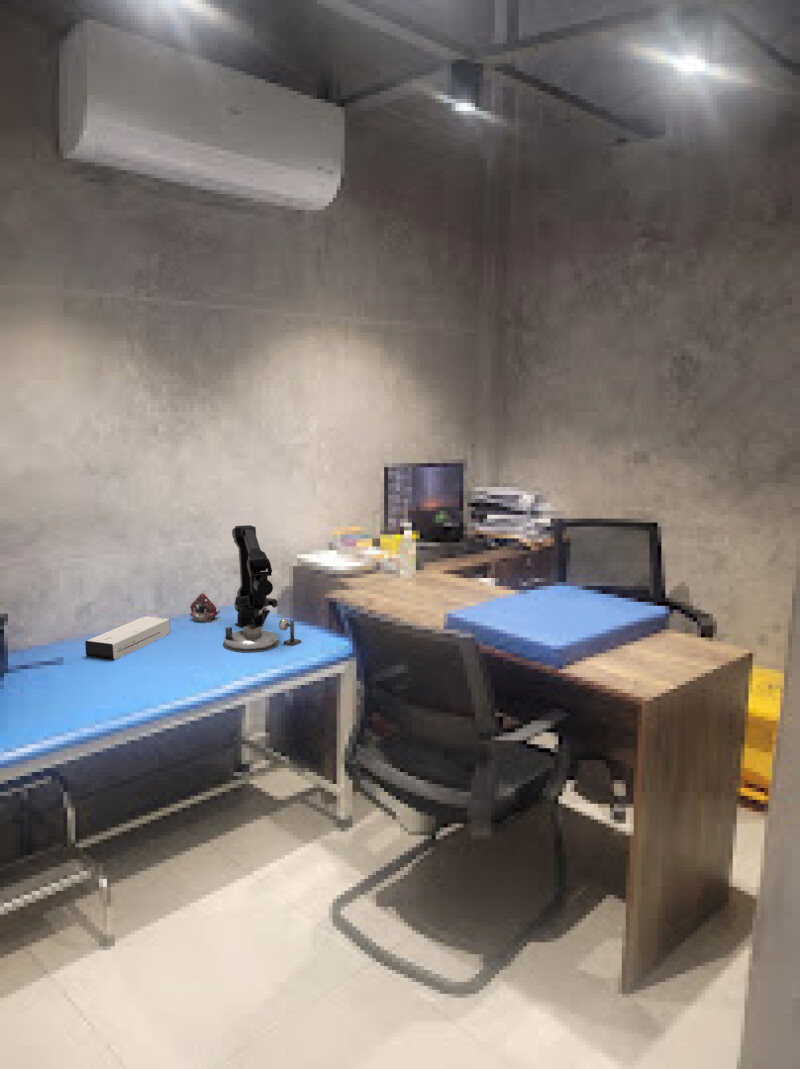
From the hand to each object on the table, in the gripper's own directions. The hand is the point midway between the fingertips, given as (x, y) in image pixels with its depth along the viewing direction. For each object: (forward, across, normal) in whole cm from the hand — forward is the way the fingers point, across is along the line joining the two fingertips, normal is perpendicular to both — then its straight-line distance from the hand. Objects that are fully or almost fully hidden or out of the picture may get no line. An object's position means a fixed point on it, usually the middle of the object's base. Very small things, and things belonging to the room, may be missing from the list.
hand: (259, 630), depth 305 cm
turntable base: (+4, +6, 0) cm, 7 cm away
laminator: (+4, +24, -40) cm, 47 cm away
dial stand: (+4, 0, +13) cm, 14 cm away
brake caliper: (+4, -15, -34) cm, 37 cm away
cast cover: (+1, +5, 0) cm, 5 cm away
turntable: (+4, +6, 0) cm, 7 cm away
